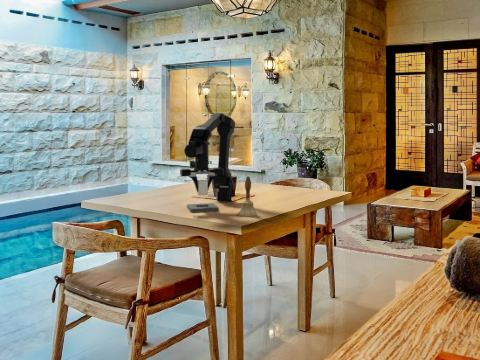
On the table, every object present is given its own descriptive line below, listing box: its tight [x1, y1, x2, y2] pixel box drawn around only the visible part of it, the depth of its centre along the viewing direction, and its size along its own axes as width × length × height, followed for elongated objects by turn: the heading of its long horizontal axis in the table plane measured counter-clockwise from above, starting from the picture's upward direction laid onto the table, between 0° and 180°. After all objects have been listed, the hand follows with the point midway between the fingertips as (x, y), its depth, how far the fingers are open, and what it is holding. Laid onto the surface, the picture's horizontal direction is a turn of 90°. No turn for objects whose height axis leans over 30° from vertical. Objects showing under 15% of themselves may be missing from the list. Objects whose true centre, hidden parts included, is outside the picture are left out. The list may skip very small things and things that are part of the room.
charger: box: [196, 179, 209, 196], centre depth 228 cm, size 4×4×6 cm
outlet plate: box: [186, 202, 220, 213], centre depth 229 cm, size 12×12×2 cm
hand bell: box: [237, 176, 258, 217], centre depth 215 cm, size 8×8×16 cm
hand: (202, 191), depth 228 cm, fingers closed on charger, 4 cm apart
